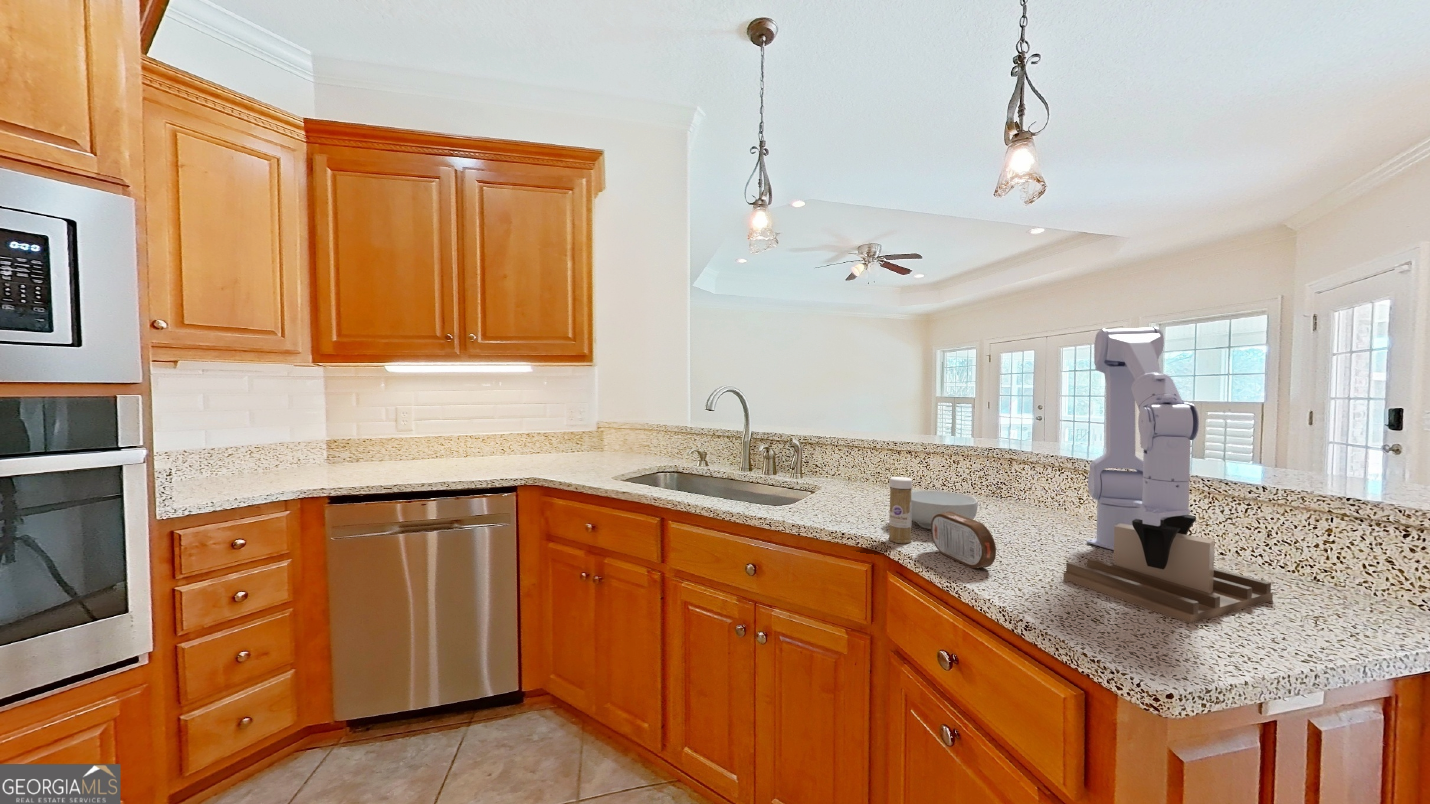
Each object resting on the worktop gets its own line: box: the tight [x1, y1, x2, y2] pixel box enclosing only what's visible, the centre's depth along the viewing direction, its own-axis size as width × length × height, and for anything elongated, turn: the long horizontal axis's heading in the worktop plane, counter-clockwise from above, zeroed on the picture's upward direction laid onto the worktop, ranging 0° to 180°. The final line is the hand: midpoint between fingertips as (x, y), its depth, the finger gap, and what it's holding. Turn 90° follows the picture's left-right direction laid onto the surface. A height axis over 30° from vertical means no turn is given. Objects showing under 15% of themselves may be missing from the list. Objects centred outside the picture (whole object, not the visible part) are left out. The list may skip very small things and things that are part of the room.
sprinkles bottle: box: [888, 476, 913, 545], centre depth 112 cm, size 5×5×14 cm
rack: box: [1063, 557, 1274, 625], centre depth 86 cm, size 21×18×3 cm
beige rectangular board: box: [1113, 523, 1216, 593], centre depth 86 cm, size 3×12×8 cm, turn 37°
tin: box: [930, 512, 997, 569], centre depth 100 cm, size 15×3×8 cm, turn 14°
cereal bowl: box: [911, 489, 979, 530], centre depth 124 cm, size 17×17×7 cm
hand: (1163, 562), depth 86 cm, fingers open, 7 cm apart
